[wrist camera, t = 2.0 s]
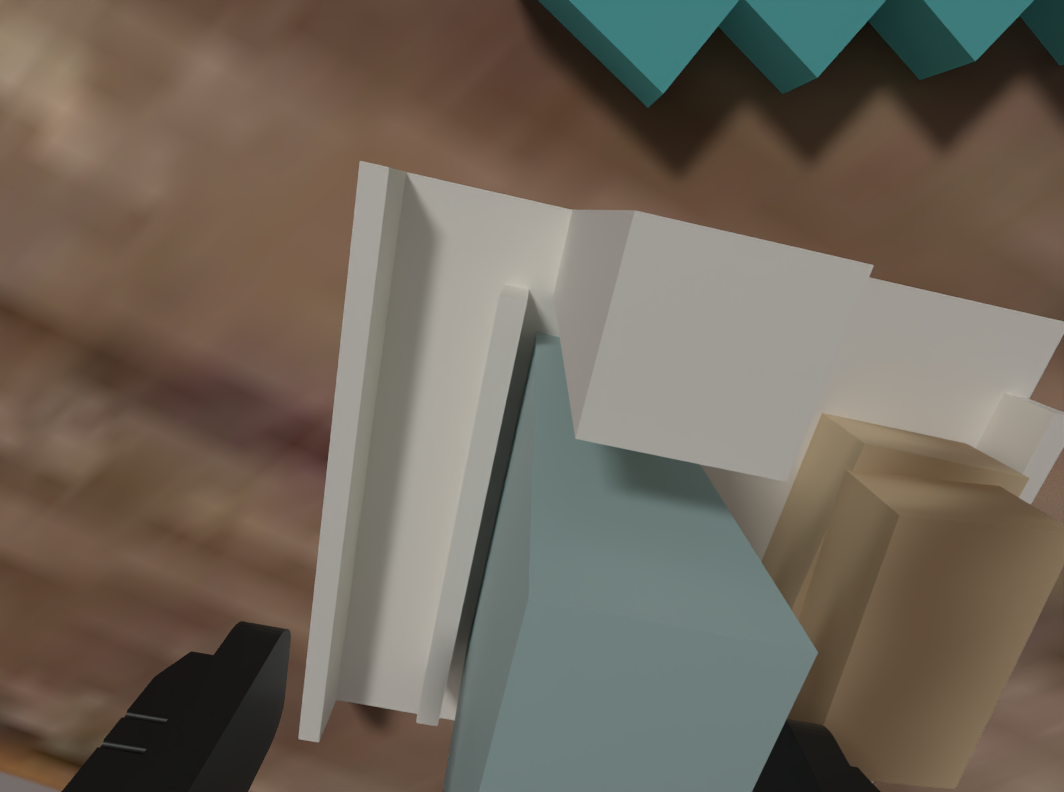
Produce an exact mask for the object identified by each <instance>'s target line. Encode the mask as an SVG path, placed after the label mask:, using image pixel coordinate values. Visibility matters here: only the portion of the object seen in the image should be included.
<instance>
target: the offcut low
mask: <svg viewBox="0 0 1064 792" xmlns="http://www.w3.org/2000/svg"><path fill="white" fill-rule="evenodd" d="M846 470H851V471H861V472H871V473H880V474H890V475H899V476H909V477H918V478H928V479H938V480H947V481H957V482H966V483H976V484H985V485H995V486H1000V487H1002V488H1004V489H1005V490H1007V491H1009V492H1010V493H1012V494H1014V495H1015V496H1017V497H1019V496H1020V494H1021V493H1022V491H1023V489H1024V487H1025V485H1026V484H1027V482H1028V480H1029V478H1028V477H1026V476H1025V475H1023V474H1021V473H1019V472H1017V471H1016V470H1014V469H1012V468H1010V467H1008V466H1006V465H1005V464H1003V463H1001V462H999V461H997V460H995V459H994V458H992V457H990V456H988V455H986V454H985V453H983V452H981V451H979V450H977V449H975V448H974V447H972V446H970V445H968V444H966V443H962V442H957V441H952V440H948V439H943V438H938V437H934V436H929V435H924V434H919V433H915V432H910V431H905V430H901V429H896V428H891V427H887V426H882V425H877V424H872V423H868V422H863V421H858V420H854V419H849V418H844V417H839V416H835V415H830V414H825V413H822V414H821V417H820V419H819V422H818V424H817V426H816V429H815V431H814V434H813V436H812V439H811V441H810V444H809V446H808V449H807V451H806V453H805V456H804V458H803V461H802V463H801V466H800V468H799V471H798V473H797V476H796V478H795V480H794V483H793V485H792V488H791V490H790V493H789V495H788V498H787V500H786V503H785V505H784V507H783V510H782V512H781V515H780V517H779V520H778V522H777V525H776V527H775V529H774V532H773V534H772V537H771V539H770V542H769V544H768V547H767V549H766V552H765V554H764V556H763V559H762V561H761V562H762V564H763V565H764V567H765V569H766V570H767V572H768V573H769V575H770V577H771V578H772V580H773V581H774V583H775V585H776V586H777V588H778V589H779V591H780V592H781V594H782V596H783V597H784V599H785V600H786V602H787V604H788V605H789V607H790V608H791V610H792V612H793V613H794V615H795V616H796V618H797V620H798V619H799V616H800V613H801V610H802V607H803V604H804V601H805V597H806V594H807V591H808V588H809V585H810V582H811V579H812V575H813V572H814V569H815V566H816V563H817V560H818V557H819V553H820V550H821V547H822V544H823V541H824V538H825V535H826V531H827V528H828V525H829V522H830V519H831V516H832V513H833V509H834V506H835V503H836V500H837V497H838V494H839V491H840V487H841V484H842V481H843V478H844V475H845V472H846Z"/></svg>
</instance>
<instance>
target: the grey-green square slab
mask: <svg viewBox="0 0 1064 792" xmlns="http://www.w3.org/2000/svg"><path fill="white" fill-rule="evenodd" d="M817 654H818V651H817V650H816V648H815V647H814V645H813V643H812V642H811V640H810V639H809V637H808V635H807V634H806V632H805V631H804V629H803V628H802V626H801V624H800V623H799V621H798V620H797V618H796V616H795V615H794V613H793V612H792V610H791V608H790V607H789V605H788V604H787V602H786V600H785V599H784V597H783V596H782V594H781V592H780V591H779V589H778V588H777V586H776V585H775V583H774V581H773V580H772V578H771V577H770V575H769V573H768V572H767V570H766V569H765V567H764V565H763V564H762V562H761V561H760V559H759V557H758V556H757V554H756V553H755V551H754V550H753V548H752V546H751V545H750V543H749V542H748V540H747V538H746V537H745V535H744V534H743V532H742V530H741V529H740V527H739V526H738V524H737V522H736V521H735V519H734V518H733V516H732V514H731V513H730V511H729V510H728V508H727V507H726V505H725V503H724V502H723V500H722V499H721V497H720V495H719V494H718V492H717V491H716V489H715V487H714V486H713V484H712V483H711V481H710V479H709V478H708V476H707V475H706V473H705V471H704V470H703V468H702V467H701V465H700V464H696V463H691V462H686V461H681V460H676V459H672V458H667V457H662V456H657V455H652V454H647V453H642V452H637V451H632V450H628V449H623V448H618V447H613V446H608V445H603V444H598V443H593V442H588V441H584V440H579V439H575V434H574V427H573V421H572V414H571V408H570V401H569V395H568V388H567V382H566V375H565V369H564V362H563V356H562V349H561V343H560V337H557V336H552V335H547V334H543V333H538V332H536V336H535V341H534V345H533V350H532V354H531V359H530V363H529V368H528V372H527V377H526V381H525V386H524V390H523V395H522V399H521V404H520V409H519V413H518V418H517V422H516V427H515V431H514V436H513V440H512V445H511V449H510V454H509V458H508V463H507V467H506V472H505V476H504V481H503V486H502V490H501V495H500V499H499V504H498V508H497V513H496V517H495V522H494V526H493V531H492V535H491V540H490V544H489V549H488V553H487V558H486V563H485V567H484V572H483V576H482V581H481V585H480V590H479V594H478V599H477V603H476V608H475V612H474V617H473V621H472V626H471V630H470V635H469V640H468V644H467V649H466V655H465V661H464V667H463V673H462V679H461V685H460V691H459V697H458V703H457V709H456V715H455V721H454V727H453V733H452V739H451V745H450V751H449V757H448V763H447V769H446V775H445V781H444V787H443V792H752V791H753V788H754V786H755V784H756V782H757V780H758V778H759V776H760V774H761V772H762V769H763V767H764V765H765V763H766V761H767V759H768V757H769V755H770V753H771V751H772V748H773V746H774V744H775V742H776V740H777V738H778V736H779V734H780V732H781V730H782V727H783V725H784V723H785V721H786V719H787V717H788V715H789V713H790V711H791V709H792V706H793V704H794V702H795V700H796V698H797V696H798V694H799V692H800V690H801V688H802V685H803V683H804V681H805V679H806V677H807V675H808V673H809V671H810V669H811V666H812V664H813V662H814V660H815V658H816V656H817Z"/></svg>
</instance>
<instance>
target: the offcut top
mask: <svg viewBox="0 0 1064 792" xmlns="http://www.w3.org/2000/svg"><path fill="white" fill-rule="evenodd" d="M1063 566H1064V525H1063V524H1062V523H1060V522H1058V521H1057V520H1055V519H1053V518H1052V517H1050V516H1048V515H1047V514H1045V513H1043V512H1042V511H1040V510H1038V509H1037V508H1035V507H1033V506H1032V505H1030V504H1029V503H1027V502H1025V501H1024V500H1022V499H1020V498H1019V497H1017V496H1015V495H1014V494H1012V493H1010V492H1009V491H1007V490H1005V489H1004V488H1002V487H1000V486H995V485H985V484H976V483H966V482H957V481H947V480H938V479H928V478H918V477H909V476H899V475H890V474H880V473H871V472H861V471H851V470H846V472H845V475H844V478H843V481H842V484H841V487H840V491H839V494H838V497H837V500H836V503H835V506H834V509H833V513H832V516H831V519H830V522H829V525H828V528H827V531H826V535H825V538H824V541H823V544H822V547H821V550H820V553H819V557H818V560H817V563H816V566H815V569H814V572H813V575H812V579H811V582H810V585H809V588H808V591H807V594H806V597H805V601H804V604H803V607H802V610H801V613H800V616H799V619H798V621H799V623H800V624H801V626H802V628H803V629H804V631H805V632H806V634H807V635H808V637H809V639H810V640H811V642H812V643H813V645H814V647H815V648H816V650H817V651H818V654H817V656H816V658H815V660H814V662H813V664H812V666H811V669H810V671H809V673H808V675H807V677H806V679H805V681H804V683H803V685H802V688H801V690H800V692H799V694H798V696H797V698H796V700H795V702H794V704H793V706H792V709H791V711H790V713H789V715H788V717H787V719H792V720H798V721H803V722H809V723H815V724H820V725H823V726H825V727H826V728H827V729H828V730H829V731H830V732H831V733H832V735H833V736H834V738H835V740H836V742H837V743H838V745H839V747H840V749H841V750H842V752H843V754H844V756H845V757H846V759H847V761H848V763H849V764H850V766H853V767H858V768H859V769H860V770H861V771H862V772H863V774H864V775H865V776H866V777H867V778H868V779H869V780H870V781H871V782H882V783H892V784H903V785H914V786H925V787H936V788H946V789H955V788H956V786H957V784H958V782H959V780H960V778H961V776H962V774H963V772H964V770H965V768H966V766H967V764H968V761H969V759H970V757H971V755H972V753H973V751H974V749H975V747H976V745H977V743H978V741H979V739H980V737H981V735H982V733H983V731H984V729H985V726H986V724H987V722H988V720H989V718H990V716H991V714H992V712H993V710H994V708H995V706H996V704H997V702H998V700H999V698H1000V696H1001V694H1002V691H1003V689H1004V687H1005V685H1006V683H1007V681H1008V679H1009V677H1010V675H1011V673H1012V671H1013V669H1014V667H1015V665H1016V663H1017V661H1018V659H1019V656H1020V654H1021V652H1022V650H1023V648H1024V646H1025V644H1026V642H1027V640H1028V638H1029V636H1030V634H1031V632H1032V630H1033V628H1034V626H1035V624H1036V622H1037V619H1038V617H1039V615H1040V613H1041V611H1042V609H1043V607H1044V605H1045V603H1046V601H1047V599H1048V597H1049V595H1050V593H1051V591H1052V589H1053V587H1054V584H1055V582H1056V580H1057V578H1058V576H1059V574H1060V572H1061V570H1062V568H1063Z"/></svg>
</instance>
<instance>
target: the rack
mask: <svg viewBox="0 0 1064 792" xmlns="http://www.w3.org/2000/svg"><path fill="white" fill-rule="evenodd" d="M873 266H874V265H871V264H867V263H862V262H858V261H853V260H849V259H845V258H840V257H836V256H832V255H827V254H823V253H818V252H814V251H810V250H805V249H801V248H797V247H792V246H788V245H784V244H779V243H775V242H770V241H766V240H762V239H757V238H753V237H749V236H744V235H740V234H735V233H731V232H727V231H722V230H718V229H714V228H709V227H705V226H700V225H696V224H692V223H687V222H683V221H679V220H674V219H670V218H665V217H661V216H657V215H652V214H648V213H644V212H639V211H635V210H571V209H566V208H562V207H557V206H553V205H549V204H544V203H540V202H535V201H531V200H527V199H522V198H518V197H513V196H509V195H505V194H500V193H496V192H491V191H487V190H483V189H478V188H474V187H469V186H465V185H461V184H456V183H452V182H447V181H443V180H439V179H434V178H430V177H425V176H421V175H417V174H412V173H408V172H404V171H400V170H397V169H393V168H390V167H385V166H381V165H377V164H372V163H368V162H363V161H360V165H359V174H358V183H357V193H356V202H355V212H354V221H353V230H352V240H351V249H350V259H349V268H348V277H347V287H346V296H345V306H344V315H343V324H342V334H341V343H340V352H339V362H338V371H337V381H336V390H335V399H334V409H333V418H332V428H331V437H330V446H329V456H328V465H327V475H326V484H325V493H324V503H323V512H322V522H321V531H320V540H319V550H318V559H317V569H316V578H315V587H314V597H313V606H312V616H311V625H310V634H309V644H308V653H307V663H306V672H305V681H304V691H303V700H302V710H301V719H300V728H299V738H298V739H301V740H307V741H313V742H319V741H320V738H321V736H322V734H323V731H324V729H325V726H326V724H327V722H328V719H329V717H330V714H331V712H332V710H333V707H334V705H335V702H336V700H341V701H346V702H352V703H358V704H364V705H369V706H375V707H381V708H387V709H392V710H398V711H404V712H410V713H415V714H418V715H417V720H416V723H421V724H427V725H432V726H438V721H439V718H444V719H450V720H455V715H456V709H457V703H458V697H459V691H460V685H461V679H462V673H463V667H464V661H465V655H466V649H467V644H468V640H469V635H470V630H471V626H472V621H473V617H474V612H475V608H476V603H477V599H478V594H479V590H480V585H481V581H482V576H483V572H484V567H485V563H486V558H487V553H488V549H489V544H490V540H491V535H492V531H493V526H494V522H495V517H496V513H497V508H498V504H499V499H500V495H501V490H502V486H503V481H504V476H505V472H506V467H507V463H508V458H509V454H510V449H511V445H512V440H513V436H514V431H515V427H516V422H517V418H518V413H519V409H520V404H521V399H522V395H523V390H524V386H525V381H526V377H527V372H528V368H529V363H530V359H531V354H532V350H533V345H534V341H535V336H536V332H538V333H543V334H547V335H552V336H557V337H560V343H561V349H562V356H563V362H564V369H565V375H566V382H567V388H568V395H569V401H570V408H571V414H572V421H573V427H574V434H575V439H579V440H584V441H588V442H593V443H598V444H603V445H608V446H613V447H618V448H623V449H628V450H632V451H637V452H642V453H647V454H652V455H657V456H662V457H667V458H672V459H676V460H681V461H686V462H691V463H696V464H700V465H701V467H702V468H703V470H704V471H705V473H706V475H707V476H708V478H709V479H710V481H711V483H712V484H713V486H714V487H715V489H716V491H717V492H718V494H719V495H720V497H721V499H722V500H723V502H724V503H725V505H726V507H727V508H728V510H729V511H730V513H731V514H732V516H733V518H734V519H735V521H736V522H737V524H738V526H739V527H740V529H741V530H742V532H743V534H744V535H745V537H746V538H747V540H748V542H749V543H750V545H751V546H752V548H753V550H754V551H755V553H756V554H757V556H758V557H759V559H760V561H762V559H763V556H764V554H765V552H766V549H767V547H768V544H769V542H770V539H771V537H772V534H773V532H774V529H775V527H776V525H777V522H778V520H779V517H780V515H781V512H782V510H783V507H784V505H785V503H786V500H787V498H788V495H789V493H790V490H791V488H792V485H793V483H794V480H795V478H796V476H797V473H798V471H799V468H800V466H801V463H802V461H803V458H804V456H805V453H806V451H807V449H808V446H809V444H810V441H811V439H812V436H813V434H814V431H815V429H816V426H817V424H818V422H819V419H820V417H821V414H822V413H825V414H830V415H835V416H839V417H844V418H849V419H854V420H858V421H863V422H868V423H872V424H877V425H882V426H887V427H891V428H896V429H901V430H905V431H910V432H915V433H919V434H924V435H929V436H934V437H938V438H943V439H948V440H952V441H957V442H962V443H966V444H968V445H970V446H972V447H974V448H975V449H977V450H979V451H981V452H983V453H985V454H986V455H988V456H990V457H992V458H994V459H995V460H997V461H999V462H1001V463H1003V464H1005V465H1006V466H1008V467H1010V468H1012V469H1014V470H1016V471H1017V472H1019V473H1021V474H1023V475H1025V476H1026V477H1028V478H1029V480H1028V482H1027V484H1026V485H1025V487H1024V489H1023V491H1022V493H1021V494H1020V496H1019V498H1020V499H1022V500H1024V501H1025V502H1027V503H1029V504H1030V505H1031V503H1032V502H1033V500H1034V498H1035V496H1036V495H1037V493H1038V491H1039V489H1040V488H1041V486H1042V484H1043V482H1044V481H1045V479H1046V477H1047V475H1048V474H1049V472H1050V470H1051V468H1052V466H1053V465H1054V463H1055V461H1056V459H1057V458H1058V456H1059V454H1060V452H1061V451H1062V449H1063V447H1064V412H1061V411H1059V410H1056V409H1054V408H1051V407H1048V406H1046V405H1043V404H1041V403H1038V402H1036V401H1033V400H1030V399H1029V398H1030V396H1031V394H1032V393H1033V391H1034V389H1035V387H1036V385H1037V383H1038V381H1039V379H1040V378H1041V376H1042V374H1043V372H1044V370H1045V368H1046V366H1047V364H1048V362H1049V361H1050V359H1051V357H1052V355H1053V353H1054V351H1055V349H1056V347H1057V346H1058V344H1059V342H1060V340H1061V338H1062V336H1063V334H1064V322H1063V321H1059V320H1054V319H1050V318H1046V317H1041V316H1037V315H1032V314H1028V313H1024V312H1019V311H1015V310H1010V309H1006V308H1002V307H997V306H993V305H988V304H984V303H980V302H975V301H971V300H966V299H962V298H958V297H953V296H949V295H944V294H940V293H936V292H931V291H927V290H922V289H918V288H914V287H909V286H905V285H900V284H896V283H892V282H887V281H883V280H878V279H874V278H870V277H869V276H870V273H871V271H872V268H873ZM872 783H873V782H872Z"/></svg>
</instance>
